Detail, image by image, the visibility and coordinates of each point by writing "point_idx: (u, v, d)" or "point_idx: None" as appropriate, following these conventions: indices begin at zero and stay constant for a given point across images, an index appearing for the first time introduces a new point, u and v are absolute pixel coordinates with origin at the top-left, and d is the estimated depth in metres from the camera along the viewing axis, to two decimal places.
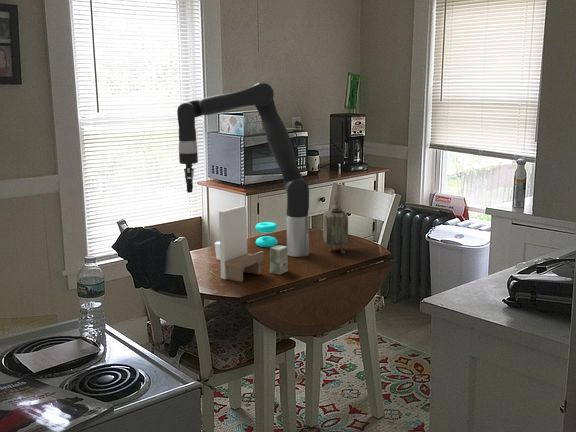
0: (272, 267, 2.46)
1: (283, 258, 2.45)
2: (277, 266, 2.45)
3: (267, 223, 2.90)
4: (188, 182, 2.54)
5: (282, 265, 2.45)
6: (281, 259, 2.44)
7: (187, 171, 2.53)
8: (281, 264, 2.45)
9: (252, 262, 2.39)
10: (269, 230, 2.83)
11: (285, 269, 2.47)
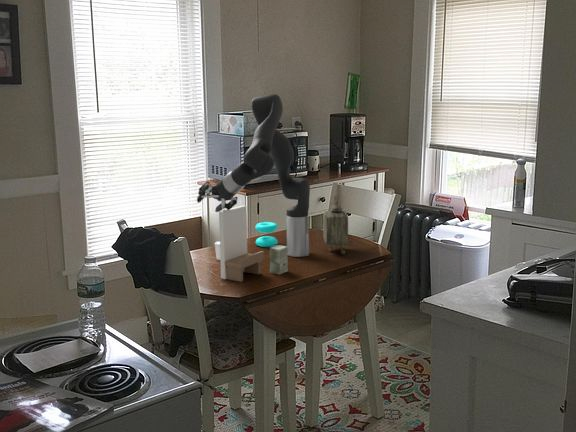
0: (272, 267, 2.46)
1: (283, 258, 2.45)
2: (277, 266, 2.45)
3: (267, 223, 2.90)
4: None
5: (282, 265, 2.45)
6: (281, 259, 2.44)
7: None
8: (281, 264, 2.45)
9: (252, 262, 2.39)
10: (269, 230, 2.83)
11: (285, 269, 2.47)
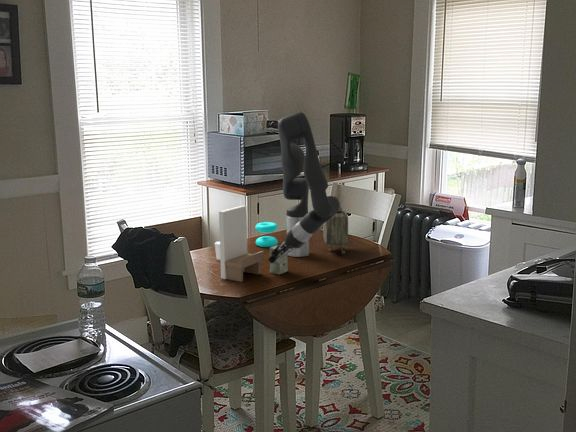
0: (272, 267, 2.46)
1: (283, 258, 2.45)
2: (277, 266, 2.45)
3: (267, 223, 2.90)
4: None
5: (282, 265, 2.45)
6: (281, 259, 2.44)
7: None
8: (281, 264, 2.45)
9: (252, 262, 2.39)
10: (269, 230, 2.83)
11: (285, 269, 2.47)
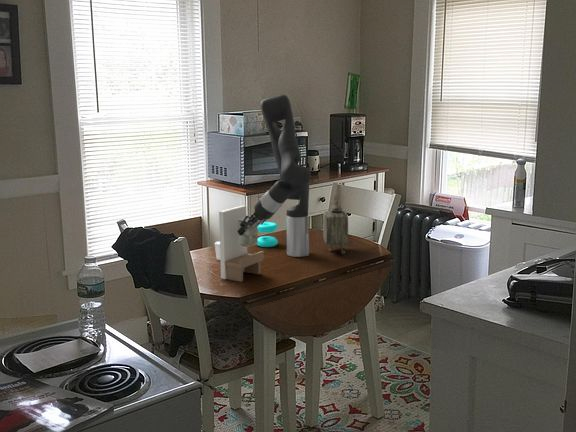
0: (241, 239, 2.37)
1: (253, 230, 2.36)
2: (246, 238, 2.35)
3: (267, 223, 2.90)
4: None
5: (251, 237, 2.36)
6: (250, 231, 2.35)
7: None
8: (250, 236, 2.35)
9: (252, 262, 2.39)
10: (269, 230, 2.83)
11: (255, 242, 2.38)
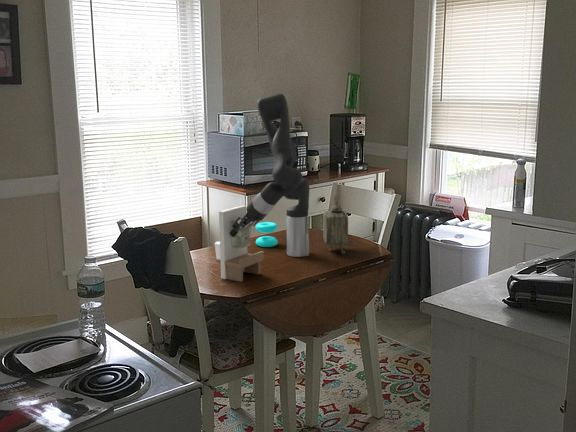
0: (233, 241, 2.39)
1: (245, 232, 2.38)
2: (238, 240, 2.37)
3: (267, 223, 2.90)
4: None
5: (244, 239, 2.38)
6: (243, 232, 2.37)
7: None
8: (243, 238, 2.37)
9: (252, 262, 2.39)
10: (269, 230, 2.83)
11: (247, 243, 2.40)
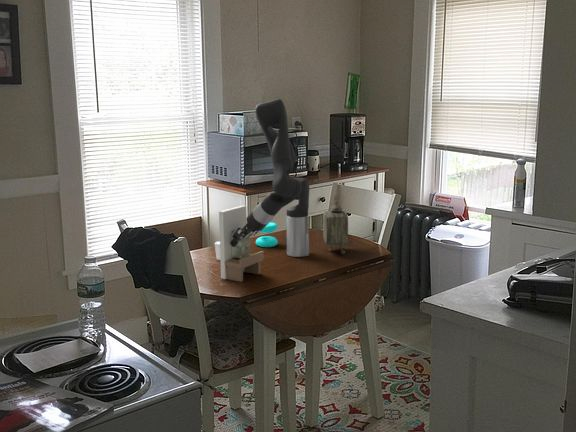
0: (234, 251, 2.40)
1: (245, 241, 2.39)
2: (238, 250, 2.38)
3: None
4: None
5: (244, 249, 2.39)
6: (243, 242, 2.38)
7: None
8: (243, 248, 2.38)
9: (252, 262, 2.39)
10: (269, 230, 2.83)
11: (247, 253, 2.41)
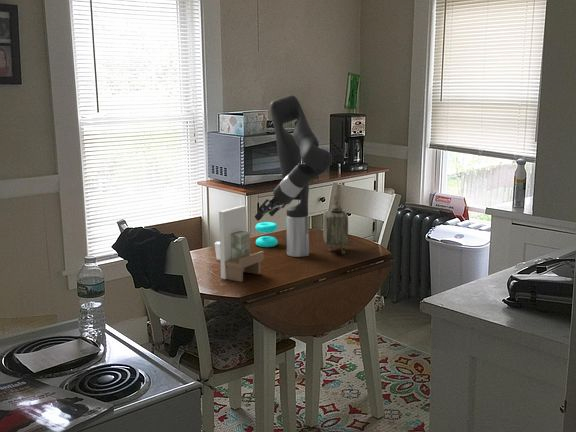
0: (233, 253, 2.40)
1: (245, 244, 2.39)
2: (238, 252, 2.38)
3: (267, 223, 2.90)
4: None
5: (244, 251, 2.39)
6: (243, 245, 2.38)
7: None
8: (243, 250, 2.38)
9: (252, 262, 2.39)
10: (269, 230, 2.83)
11: (247, 255, 2.41)
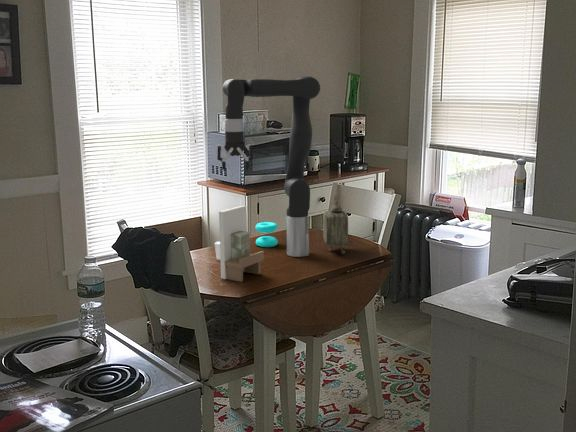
0: (233, 253, 2.40)
1: (245, 244, 2.39)
2: (238, 252, 2.38)
3: (267, 223, 2.90)
4: None
5: (244, 251, 2.39)
6: (243, 245, 2.38)
7: None
8: (243, 250, 2.38)
9: (252, 262, 2.39)
10: (269, 230, 2.83)
11: (247, 255, 2.41)
